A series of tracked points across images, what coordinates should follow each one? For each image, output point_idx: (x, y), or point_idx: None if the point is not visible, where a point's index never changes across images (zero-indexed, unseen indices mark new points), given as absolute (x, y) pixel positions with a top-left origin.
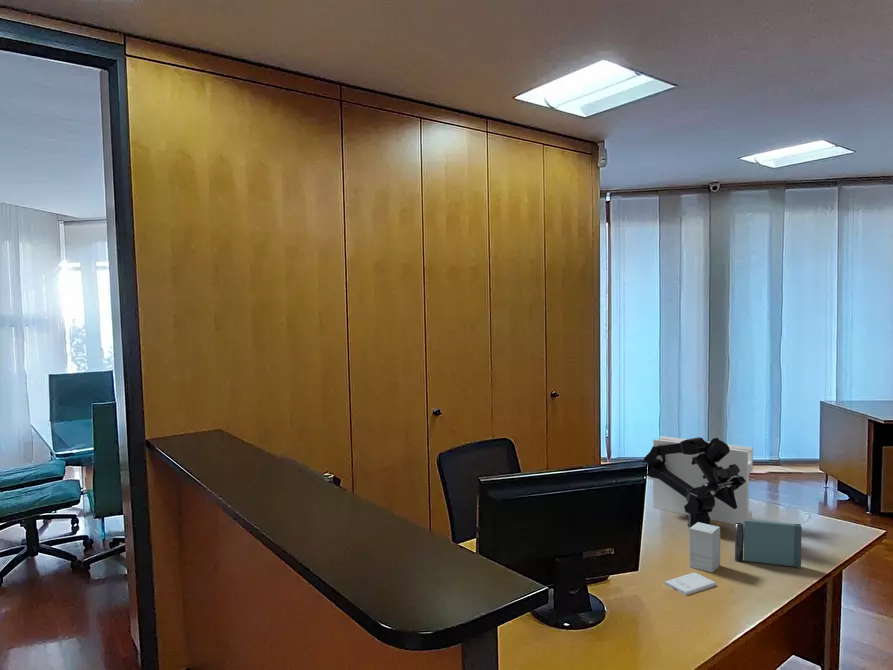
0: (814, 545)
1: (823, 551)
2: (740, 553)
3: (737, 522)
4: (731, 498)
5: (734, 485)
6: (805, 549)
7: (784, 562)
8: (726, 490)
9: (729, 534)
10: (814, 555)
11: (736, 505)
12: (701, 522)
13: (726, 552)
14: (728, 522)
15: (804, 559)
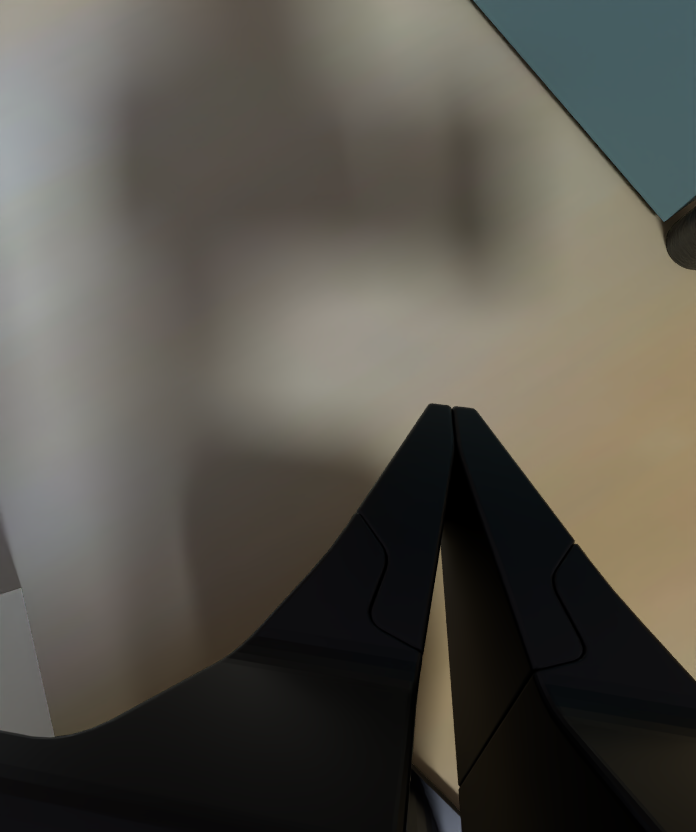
0: (14, 105)
1: (72, 23)
2: None
3: (22, 664)
4: (497, 532)
5: (32, 812)
6: (127, 101)
7: None
8: None
9: (279, 577)
10: (181, 18)
11: (438, 417)
12: (409, 829)
13: (635, 383)
14: (50, 730)
15: (296, 16)
